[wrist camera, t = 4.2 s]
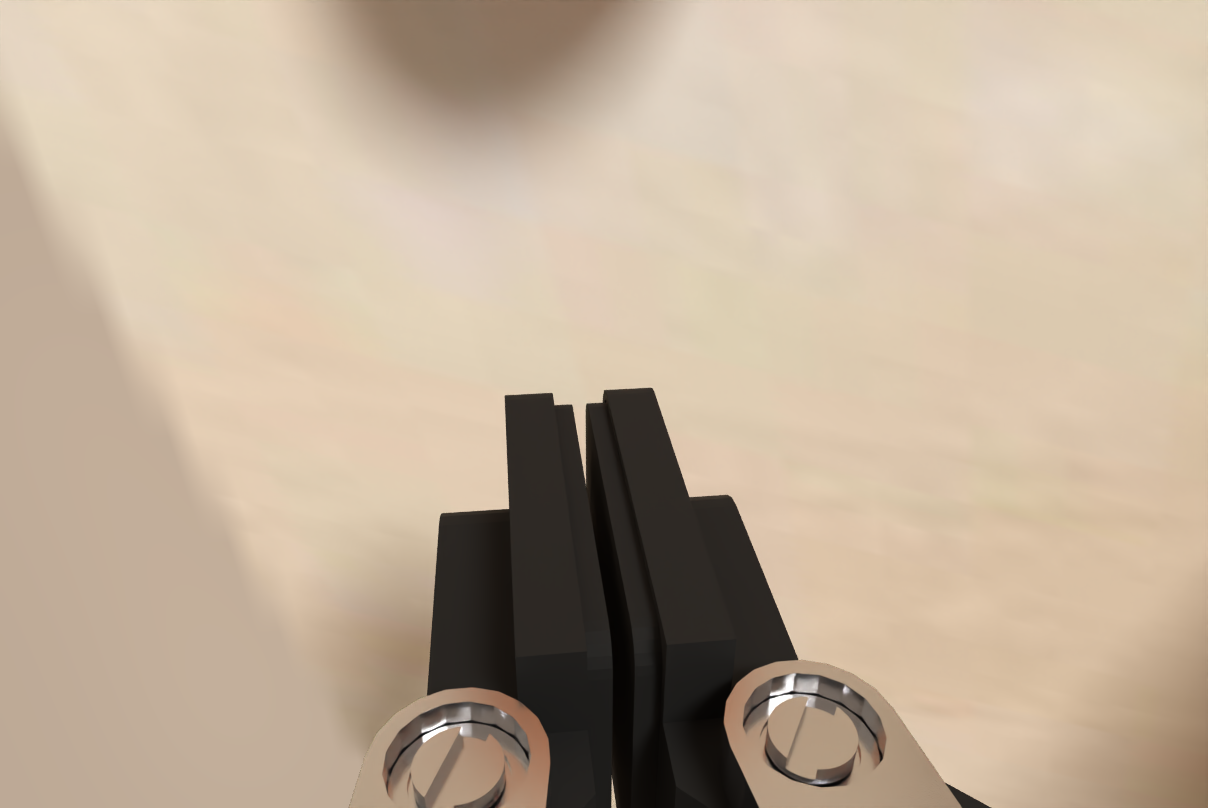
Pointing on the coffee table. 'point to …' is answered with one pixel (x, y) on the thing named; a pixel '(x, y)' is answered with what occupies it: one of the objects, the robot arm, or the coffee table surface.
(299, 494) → the coffee table surface
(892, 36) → the coffee table surface
